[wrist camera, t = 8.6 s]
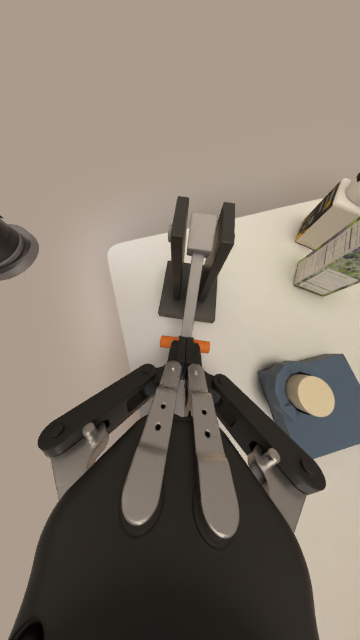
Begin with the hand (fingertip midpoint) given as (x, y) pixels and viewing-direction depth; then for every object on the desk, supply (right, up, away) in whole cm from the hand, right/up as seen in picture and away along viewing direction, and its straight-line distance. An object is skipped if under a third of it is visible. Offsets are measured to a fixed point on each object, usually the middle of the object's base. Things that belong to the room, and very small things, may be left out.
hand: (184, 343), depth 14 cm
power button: (+14, -6, +2) cm, 16 cm away
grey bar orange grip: (+1, +6, +1) cm, 6 cm away
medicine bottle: (+28, +20, +13) cm, 37 cm away
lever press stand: (+1, +7, +9) cm, 12 cm away
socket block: (+18, -9, +5) cm, 21 cm away
